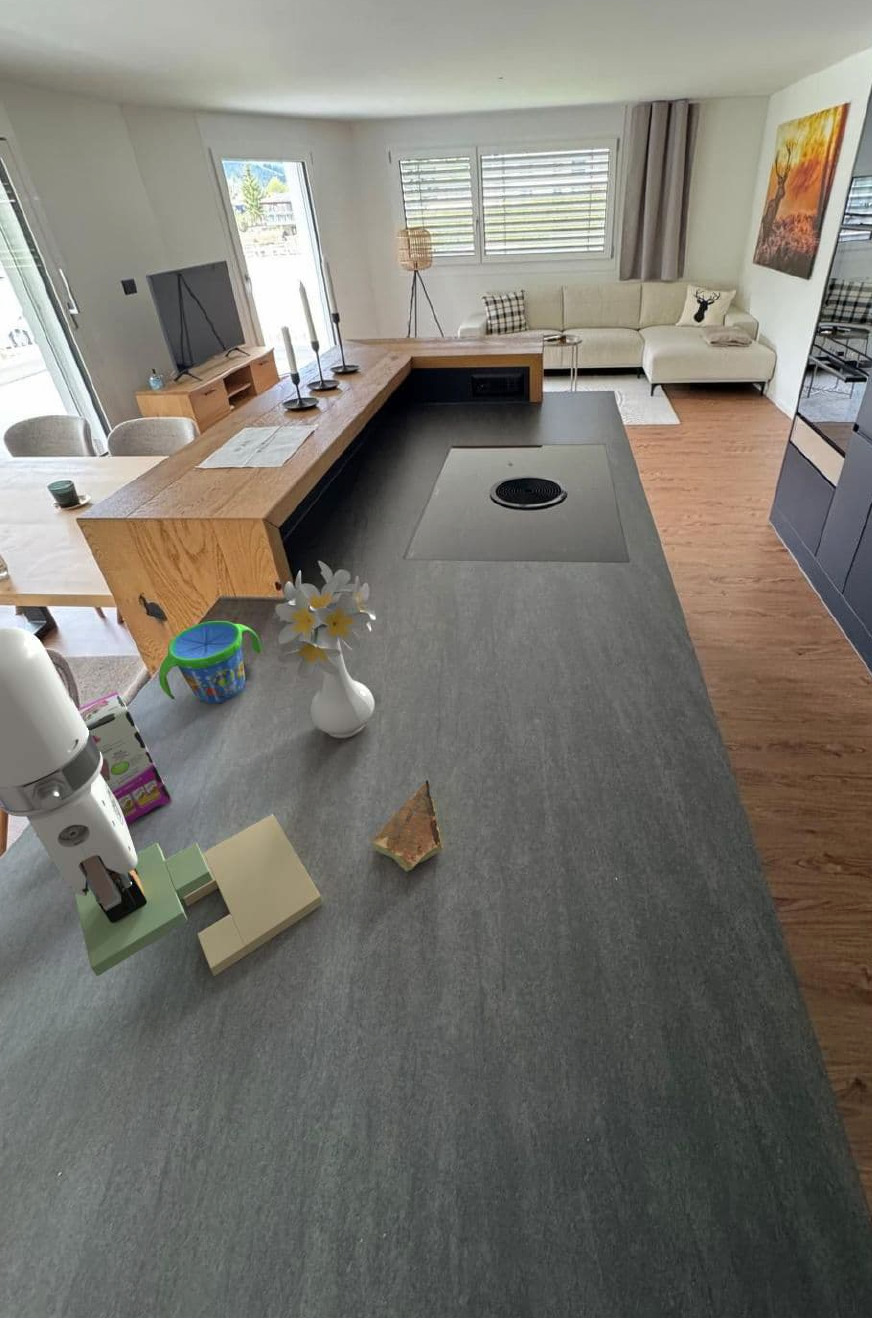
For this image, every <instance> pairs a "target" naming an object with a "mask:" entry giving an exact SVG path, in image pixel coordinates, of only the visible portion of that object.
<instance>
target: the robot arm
mask: <svg viewBox="0 0 872 1318" xmlns="http://www.w3.org/2000/svg"><path fill="white" fill-rule="evenodd" d="M77 709H78V707H77V706H76V705H75V702H74V700H73V698H72V697H71V695H70V693H69V691H68V689H67V687H66V686H65V683H64V682H63V680H62V678H61V676H60V675H59V672H58V671H57V668H56V667H55V665H54V663H53V661H52V659H51V658H50V656H49V654H48V652H47V649H46V648H45V646H44V644H43V643H42V642H41V640H40V639H39V638H38V637H37V636H36V635H35V634H33V632H31V631H29V630H26V629H24V628H21V627H17V626H16V627H14V626H0V808H1V810H2V811H3V812H5V813H6V814H8V815H9V816H13V817H20V818H21V817H23V818H24V817H25V818H26V819H27V820H28V822H29V824H30V826H31V827H32V829H33V831H34V833H35V836H36V838H38V839H39V840H40V841H39V842H41V844H42V846H43V847H44V849H45V851H46V852H47V854H48V855H49V857H50V859H51V860H52V862H53V863H54V865H55V867H56V868H57V870H58V871H59V872H60V874H61V875H62V878H64V880H65V881H66V883H67V884H68V885H69V887H70V888H71V890H72V891H73V893H74V892H75V893H76V894H78V895H82V896H86V895H87V892H89V888H90V890H91V891H92V893H93V894H94V896H95V899H96V901H97V902H98V904H99V906H100V907H101V909H102V910H103V912H104V913H105V915H106V916H107V918H108V919H109V921H110V922H111V923H115V922H117V921H119V920H121V919H122V918H124V917H126V916H128V915H129V914H131V913H133V912H134V911H136V910H138V909H140V908H141V907H143V906H145V905H146V903H147V900H146V897H145V896H144V894H143V892H142V890H141V889H140V887H139V885H138V884H137V882H136V880H135V878H134V877H133V875H131V876H128V874H127V873H128V872H130V871H131V870H134V871H135V872H136V874H137V875H138V873H137V870H136V868H135V867H136V865H137V861H138V860H137V855H136V854H137V852H136V849H135V846H134V842H133V839H132V836H131V833H130V830H129V828H128V825H127V824H126V821H125V818H124V816H123V813H122V810H121V808H120V805H119V803H118V802H117V800H116V798H115V796H114V795H113V793H112V792H111V790H110V789H109V787H108V785H107V784H106V782H105V781H104V779H103V777H102V776H101V774H100V771H101V768H102V765H103V757H102V754H101V752H100V751H99V749H98V747H97V745H96V743H95V741H94V739H93V737H92V736H91V734H90V732H89V730H88V728H87V726H86V725H85V723H84V721H83V719H82V717H81V715H80V714H79V712H78V710H77ZM115 872H116V873H117V874H118V876H119V878H118V879H116V880H114V881H112V879H111V877H110V875H111V874H113V873H115ZM88 886H89V888H88Z"/></svg>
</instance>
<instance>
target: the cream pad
mask: <svg viewBox="0 0 872 1318" xmlns="http://www.w3.org/2000/svg"><path fill="white" fill-rule="evenodd" d="M201 853H202V855H203V858H204V860H205V862H206V865H207V867H208V869H209V871H210V874H211V876H212V878H213V880H212V881H210V882H209V883H207V884H205V885H204V886H202V887H200V888H199V889H197V890H195V891H194V892H192V893H190V894H189V895H187V896H185V897H184V898H182V899H183V901H184V902H185V905H186V906H187V907H189V906H191V905H192V904H194V903H196V902H197V901H199V900H201V899H203V898H205V897H206V896H208V895H210V894H211V893H212V892H215V891H216V890H219V891H220V894H221V896H222V899H223V901H224V903H225V905H226V907H227V909H228V912H229V914H227V915H225V916H224V917H222V918H221V919H219V920H218V921H216V922H214V923H213V924H211V925H209V926H208V927H206V928H204V929H203V930H202V931H200V932H198V933H197V934H196V935H197V938H198V940H199V943H200V946H201V948H202V952H203V954H204V956H205V959H206V961H207V964H208V967H209V970H210V971H211V973H212V975H213V977H216V976H217V975H219V974H220V973H222V972H223V971H225V970H226V969H228V968H230V967H231V966H232V965H234V964H236V963H237V962H238V961H239V960H241V959H243V958H244V957H245V956H247V955H249V954H250V953H252V952H253V951H255V950H256V949H258V948H259V947H261V946H262V945H264V944H265V943H267V942H268V941H270V940H271V939H273V938H274V937H276V936H277V935H279V934H281V933H282V932H283V931H285V930H286V929H288V928H289V927H291V926H292V925H294V924H295V923H297V922H298V921H300V920H301V919H303V918H304V917H306V916H308V915H309V914H310V913H312V912H314V911H315V910H316V909H317V908H319V907H321V906H322V905H323V904H324V902H323V898H322V896H321V894H320V892H319V890H318V889H317V887H316V885H315V884H314V883H315V882H313V880H312V878H311V877H310V875H309V873H308V872H307V870H306V867H304V864H303V863H302V862H301V860H300V858H299V856H298V854H297V853H296V851H295V849H294V848H293V845H292V844H291V843H290V841H289V839H288V838H287V836H286V834H285V832H284V831H283V829H282V827H281V826H280V824H279V822H278V821H277V819H276V817H275V815H274V814H273V813H271V814H270V815H268V816H266V817H265V818H262V819H261V820H259V821H258V822H255V823H253V824H252V825H250V826H248V827H246V828H245V829H243V830H241V831H240V832H237V833H236V834H234V835H233V836H231V837H229V838H227V839H225V840H224V841H222V842H220V843H218V844H216V845H215V846H213V847H211V848H209V849H208V850H206V851H204V852H201Z"/></svg>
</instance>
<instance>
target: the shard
mask: <svg viewBox="0 0 872 1318" xmlns="http://www.w3.org/2000/svg"><path fill="white" fill-rule="evenodd" d="M430 788H431V786H430V782H429V779H426V781H425V782H424V783H423V784H422V785H421V786H420V788H418V790H417V791H416V793H415V794H414V795H412V797H410V799H409V800H408V801H407V802H406V803H404V804H403V805H402V806H401V807H400V808H399V809H398V810H397V812H395V813H394V814H393V815H392V817H391V818H390V819H389V820H388V821H387V822H386V823H385V825H384V826H383V827H382V828H381V831H380V832H379V833H378V834H377V835H376V836H375V837H374V838H373V841H372V846H373V849H374V851H375V852H378V853H379V854H382V855H384V856H386V857H389V858H391V859H393V860H394V861H395V862H396V863H397V864H398V865H399V866H400V867H401V868H402V869H403V870H404V871H405V872H410V871H411V870H413V869H414V868H415V867H416V866H417V865H418V864H419V863H422V862H424V861H427V860H428V859H429V858H431V857H434V856H435V855H436V854H438V853H440V852H441V851H442V850H443V848H444V846H443V844H442V840H441V835H440V830H439V826H438V825H439V824H438V821H437V815H436V810H435V805H434V800H433V797H432V795H431V789H430Z"/></svg>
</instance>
